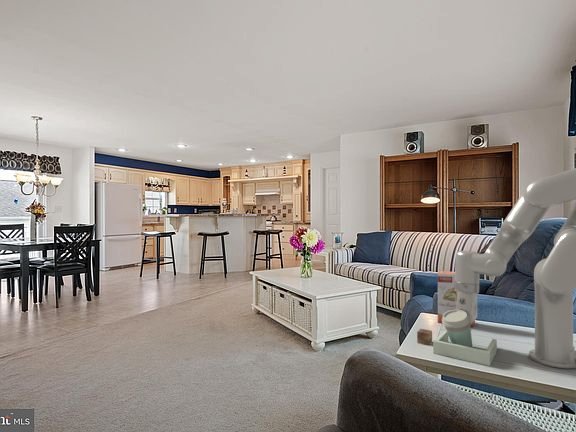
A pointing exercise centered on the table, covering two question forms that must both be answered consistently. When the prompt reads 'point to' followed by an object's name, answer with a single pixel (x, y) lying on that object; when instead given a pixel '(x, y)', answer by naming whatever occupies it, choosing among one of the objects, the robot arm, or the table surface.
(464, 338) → the coffee cup
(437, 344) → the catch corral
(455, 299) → the cracker box
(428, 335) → the walnut block
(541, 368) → the table surface
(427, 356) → the table surface
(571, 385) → the table surface
